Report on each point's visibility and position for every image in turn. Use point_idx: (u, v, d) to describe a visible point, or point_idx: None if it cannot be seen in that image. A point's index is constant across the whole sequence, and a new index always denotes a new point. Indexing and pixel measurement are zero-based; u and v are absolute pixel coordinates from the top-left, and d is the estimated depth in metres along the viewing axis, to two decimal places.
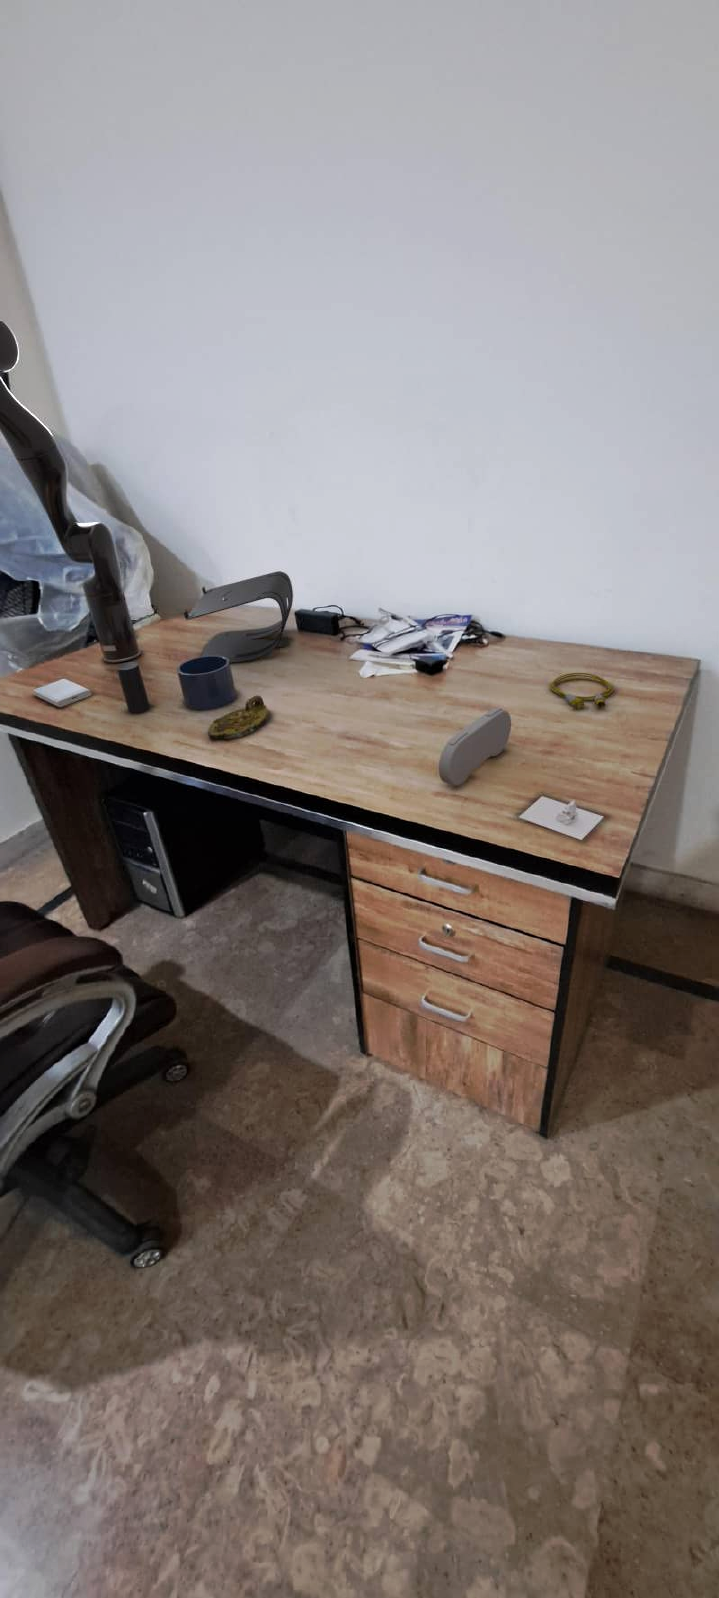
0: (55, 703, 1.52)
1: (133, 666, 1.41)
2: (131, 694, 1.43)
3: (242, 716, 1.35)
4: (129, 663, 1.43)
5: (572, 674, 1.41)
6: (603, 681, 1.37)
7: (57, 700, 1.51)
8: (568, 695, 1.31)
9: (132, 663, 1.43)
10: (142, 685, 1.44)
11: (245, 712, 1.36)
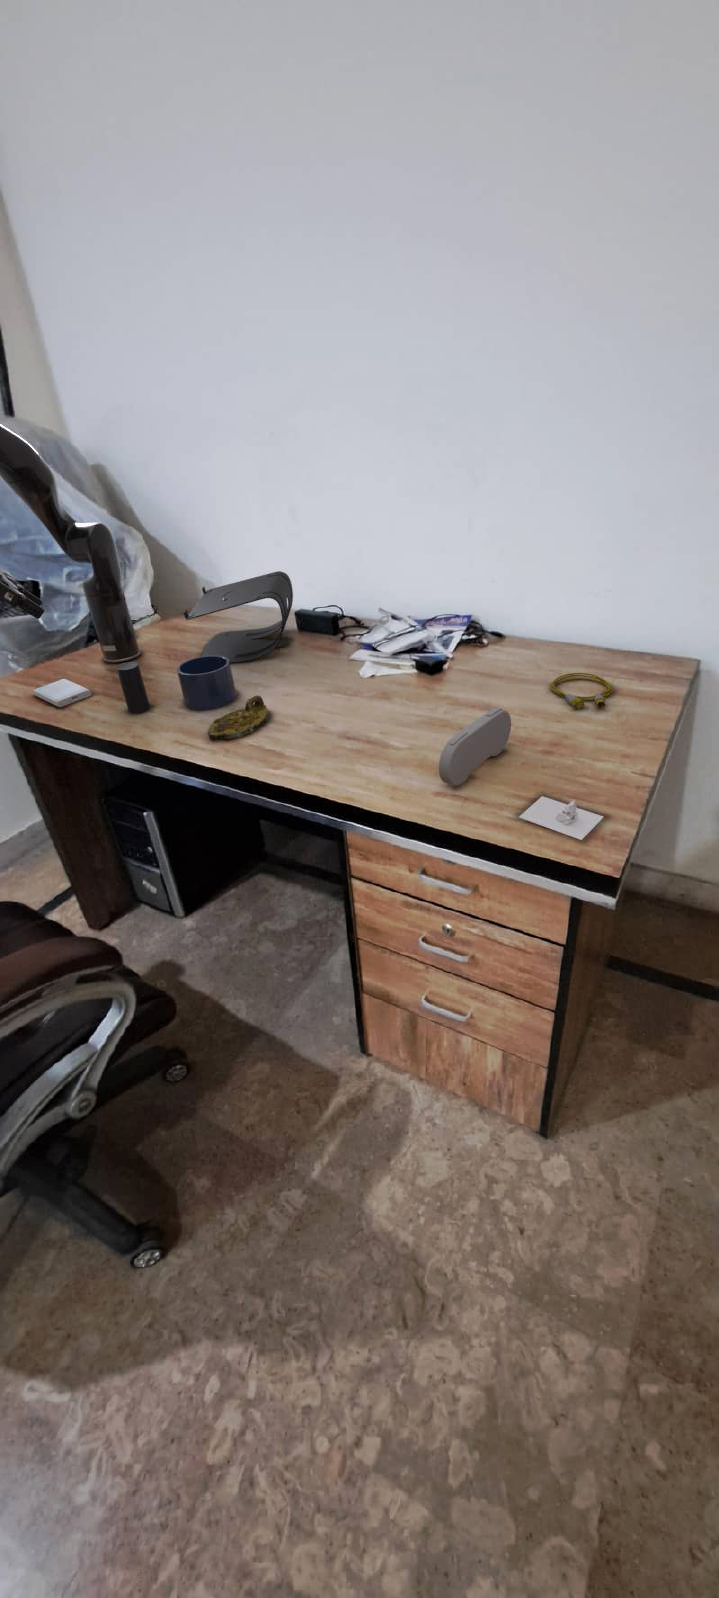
0: (55, 703, 1.52)
1: (133, 666, 1.41)
2: (131, 694, 1.43)
3: (242, 716, 1.35)
4: (129, 663, 1.43)
5: (572, 674, 1.41)
6: (603, 681, 1.37)
7: (57, 700, 1.51)
8: (568, 695, 1.31)
9: (132, 663, 1.43)
10: (142, 685, 1.44)
11: (245, 712, 1.36)
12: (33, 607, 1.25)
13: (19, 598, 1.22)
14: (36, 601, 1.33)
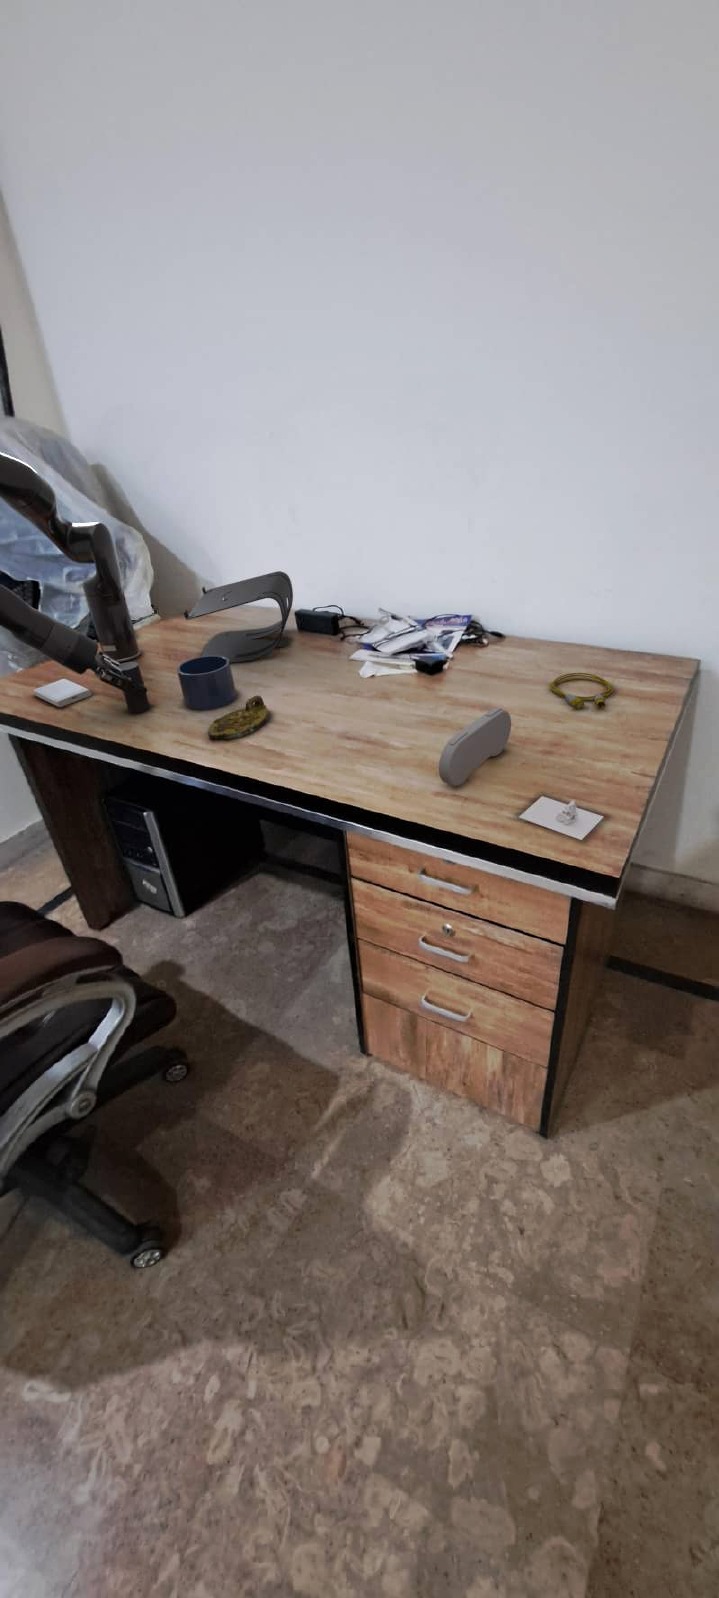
0: (55, 703, 1.52)
1: (133, 666, 1.41)
2: (131, 694, 1.43)
3: (242, 716, 1.35)
4: (129, 663, 1.43)
5: (572, 674, 1.41)
6: (603, 681, 1.37)
7: (57, 700, 1.51)
8: (568, 695, 1.31)
9: (132, 663, 1.43)
10: None
11: (245, 712, 1.36)
12: (138, 688, 1.41)
13: (128, 683, 1.38)
14: None
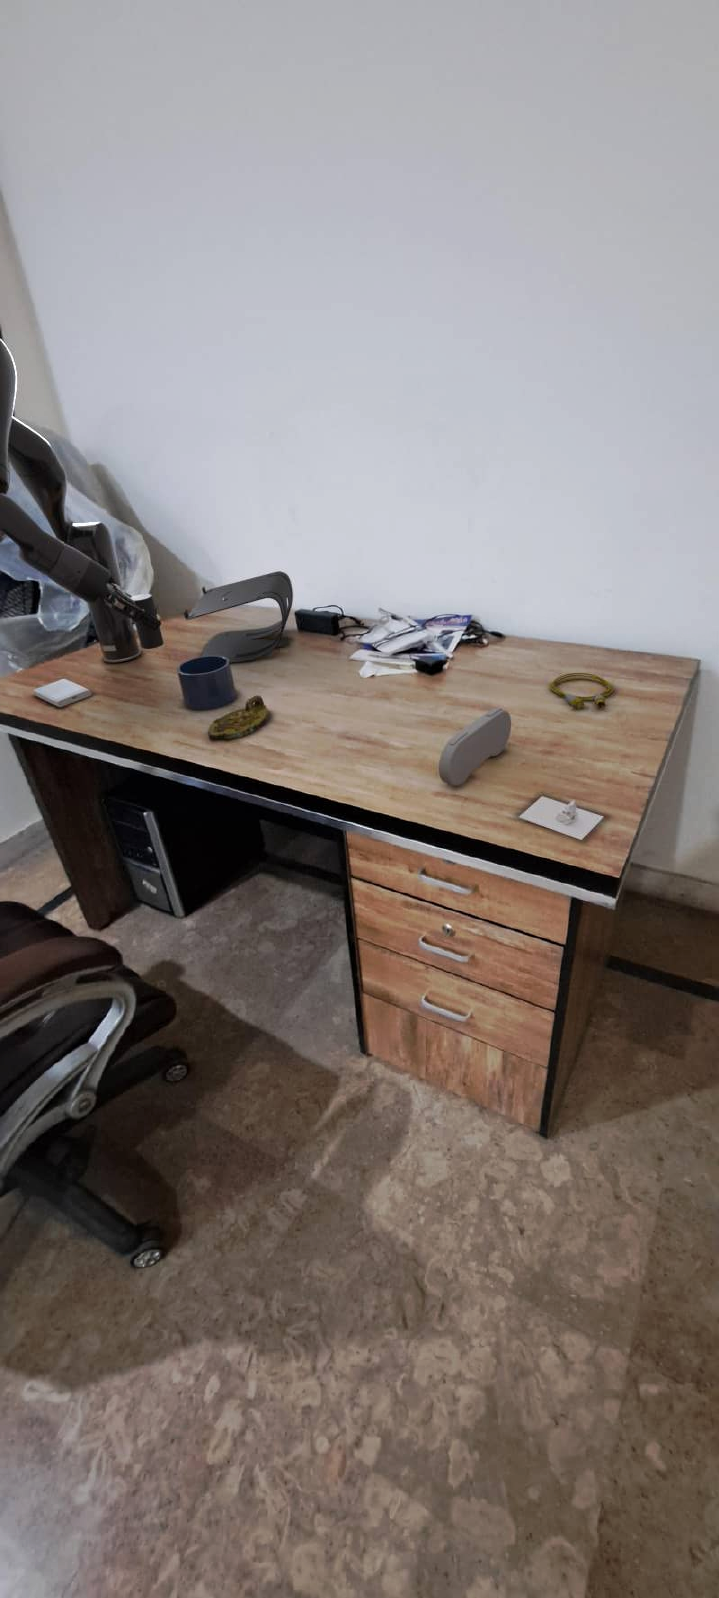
0: (55, 703, 1.52)
1: (146, 597, 1.34)
2: (144, 627, 1.36)
3: (242, 716, 1.35)
4: (142, 595, 1.36)
5: (572, 674, 1.41)
6: (603, 681, 1.37)
7: (57, 700, 1.51)
8: (568, 695, 1.31)
9: (145, 594, 1.36)
10: None
11: (245, 712, 1.36)
12: (152, 620, 1.34)
13: (141, 613, 1.31)
14: None
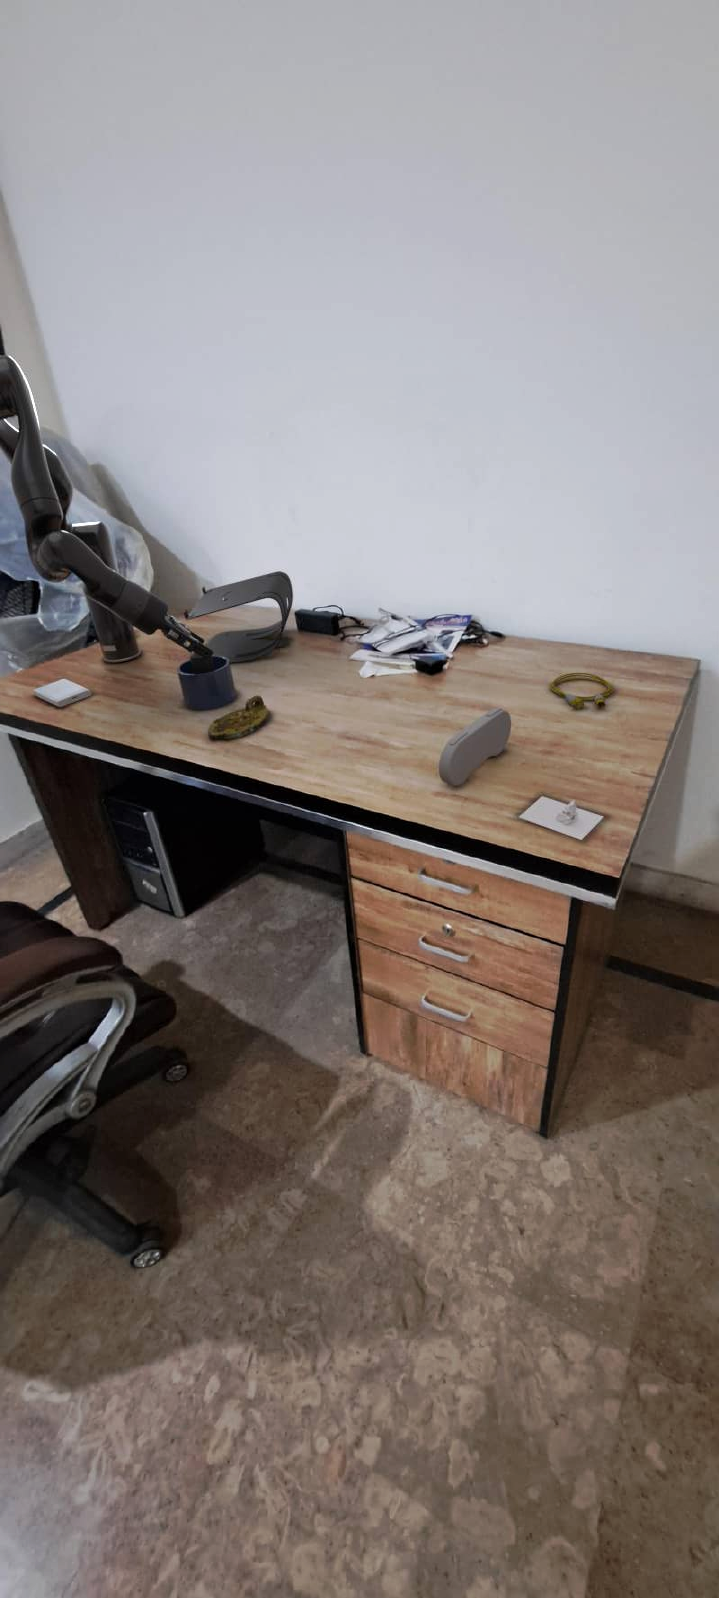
0: (55, 703, 1.52)
1: None
2: None
3: (242, 716, 1.35)
4: None
5: (572, 674, 1.41)
6: (603, 681, 1.37)
7: (57, 700, 1.51)
8: (568, 695, 1.31)
9: None
10: None
11: (245, 712, 1.36)
12: (205, 650, 1.38)
13: (195, 644, 1.34)
14: (199, 640, 1.45)
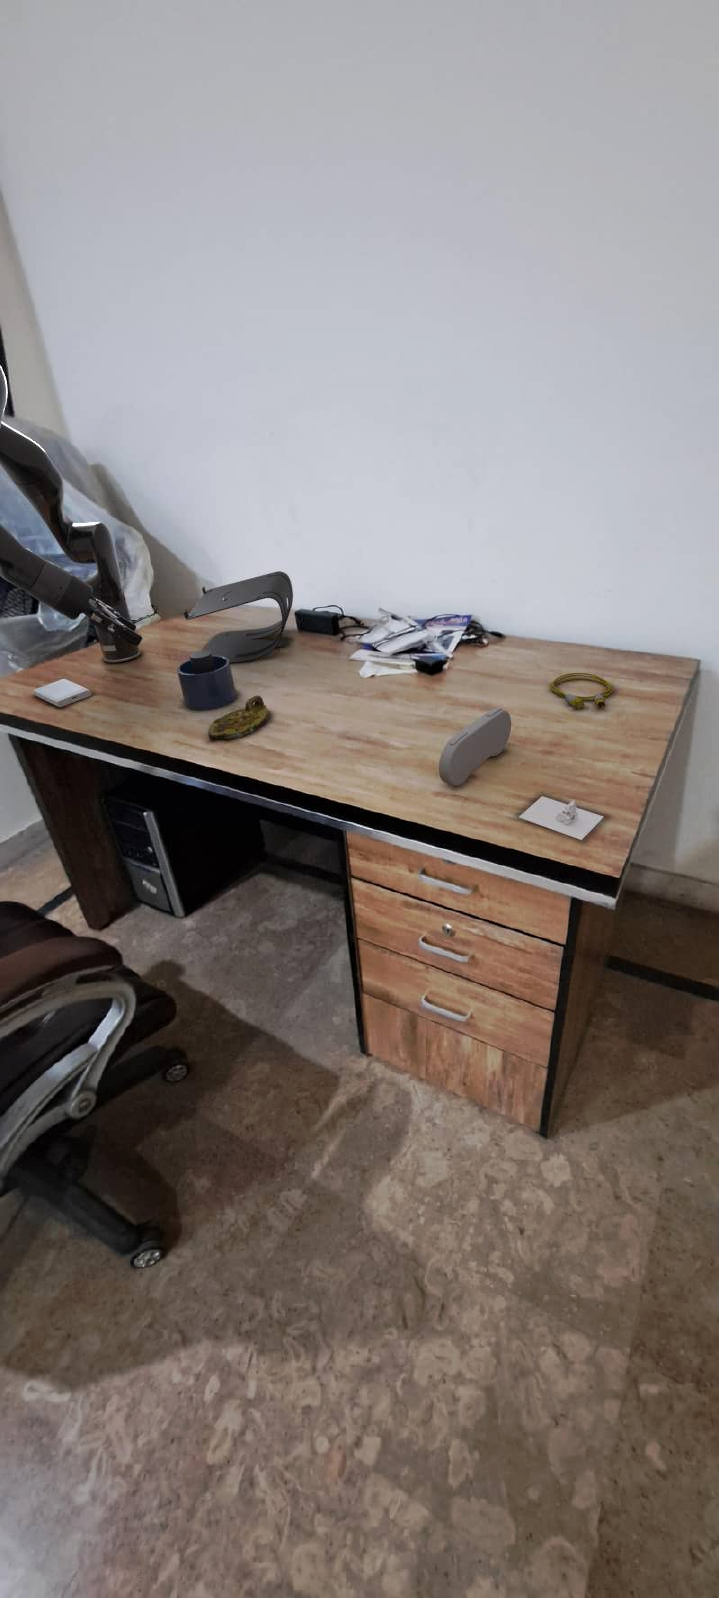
0: (55, 703, 1.52)
1: (206, 654, 1.42)
2: None
3: (242, 716, 1.35)
4: (202, 651, 1.44)
5: (572, 674, 1.41)
6: (603, 681, 1.37)
7: (57, 700, 1.51)
8: (568, 695, 1.31)
9: (204, 651, 1.44)
10: None
11: (245, 712, 1.36)
12: (133, 636, 1.31)
13: (121, 629, 1.28)
14: (131, 626, 1.39)
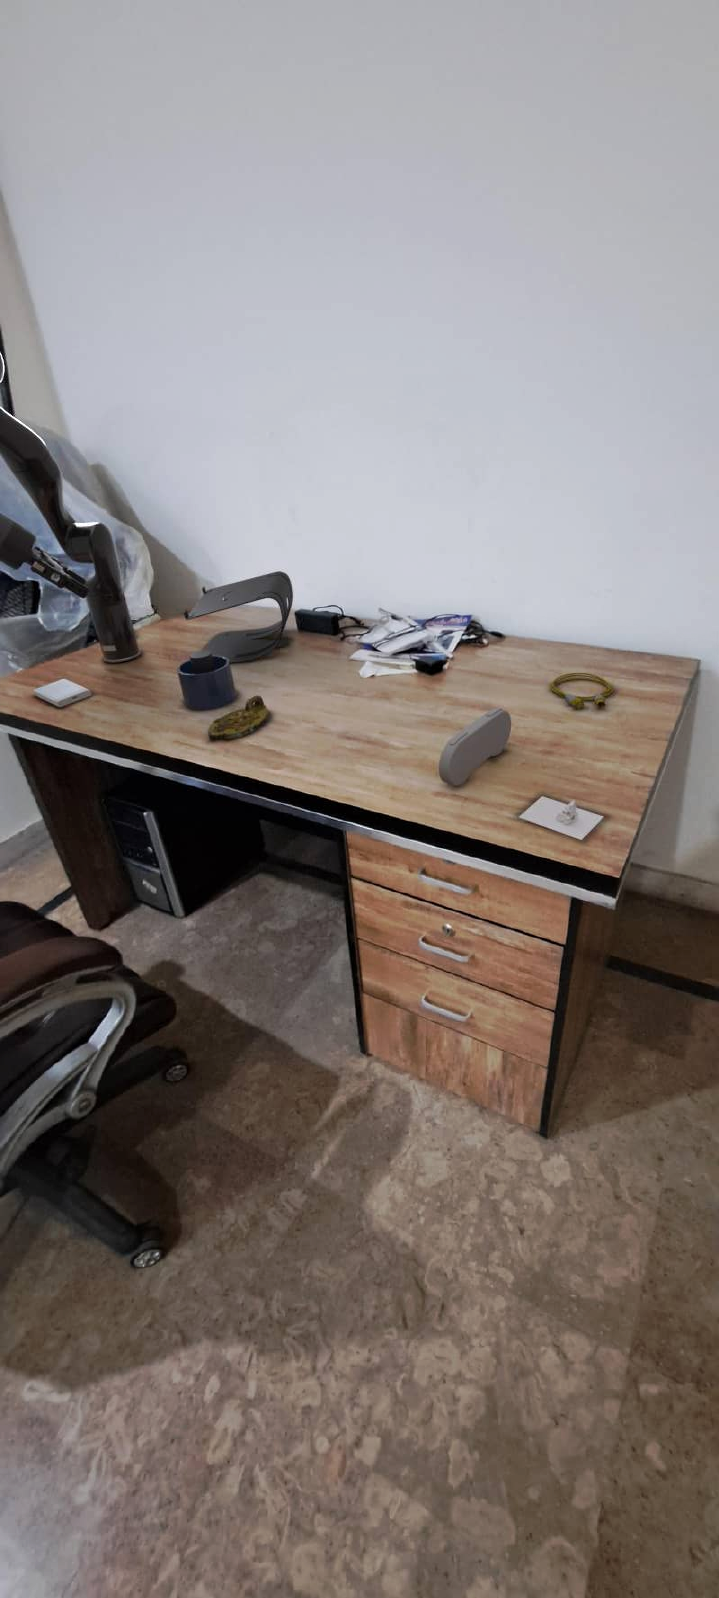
0: (55, 703, 1.52)
1: (206, 654, 1.42)
2: None
3: (242, 716, 1.35)
4: (202, 651, 1.44)
5: (572, 674, 1.41)
6: (603, 681, 1.37)
7: (57, 700, 1.51)
8: (568, 695, 1.31)
9: (204, 651, 1.44)
10: None
11: (245, 712, 1.36)
12: (79, 587, 1.26)
13: (65, 579, 1.23)
14: (80, 580, 1.34)
